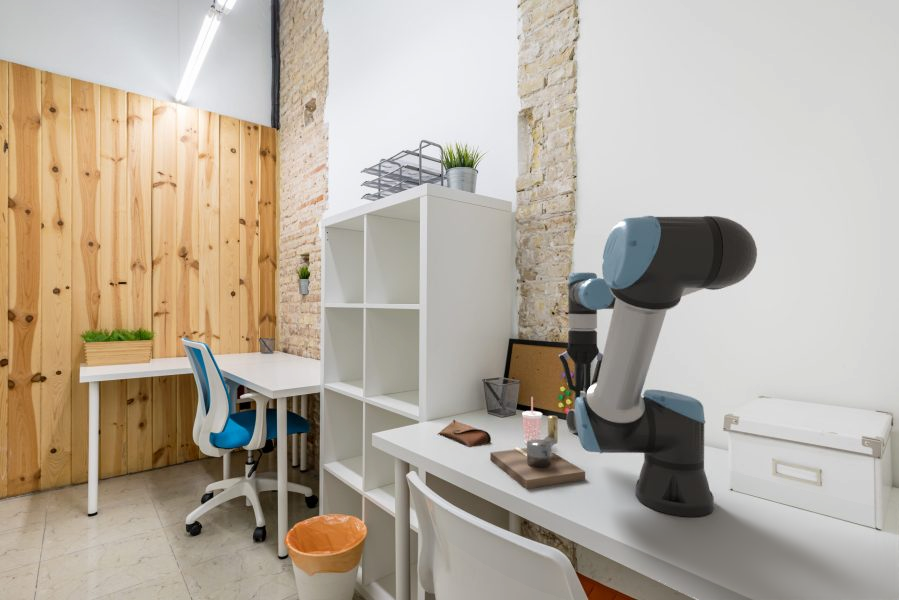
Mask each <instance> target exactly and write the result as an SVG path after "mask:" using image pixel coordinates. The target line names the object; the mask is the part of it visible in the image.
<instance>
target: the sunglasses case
mask: <svg viewBox="0 0 899 600" xmlns="http://www.w3.org/2000/svg"><path fill="white" fill-rule="evenodd" d="M438 434H440V435H439V436H441V435H443V436H442V437H444V436H446V437H445V438H447V437H448V438H447V439H451V440H452V439H453V440H452V441H455V442H458V443H460V444H461V445H464V446H466V447H468V448H474V447H477V446H481V445H485V444H491V441H492V437H491V435H490V434H489V432H488V431H485V430H483V429H481V428H479V429H478V428H476V427H474V426H471V425H468V424H465V423H462V422H459V421H457V420H455V419H453V420H452V422H450V423H449V424H448V425H447V426H445V427H444V428H442V430H441V431H439V432H438ZM438 434H437V435H438Z"/></svg>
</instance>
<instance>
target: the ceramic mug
mask: <svg viewBox="0 0 899 600" xmlns="http://www.w3.org/2000/svg"><path fill="white" fill-rule="evenodd" d="M566 426H567V429H568V431H569V432H570V433H572V434H578V431H577V426H576V419H575V408H571V409H569V410H568V411H567V413H566Z"/></svg>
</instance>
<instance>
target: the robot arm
mask: <svg viewBox="0 0 899 600" xmlns="http://www.w3.org/2000/svg"><path fill="white" fill-rule="evenodd" d="M757 257H758V247H757V245H756V242H755V239H754V238H753V236H752V234H751V233H750V232H749V230H747V228H745V227H744V226H743V225H742V224H740V223H738V222H737V221H735V220H733V219H730V218H727V217H723V216H714V215H712V216H710V215H704V216H653V215H643V216H639V217H637V216H636V217H628V218H627V217H626V218H623V219H622V220H620V221H618V222H617V223H616V224H615V225H614V226H613V228H612V229H611V230H610V233H609V234H608V236H607V239H606V242H605V245H604V249H603V254H602V259H603V261H602V265H601V266H602V267H601V270H602V277H603V278H600V277H598V275H597V274H596V273H595V272H572V273H570V274H569V276H568V283H567V289H568V296H567V297H568V299H567V300H568V308H567V309H568V316H567V317H568V321H567V322H568V324H567V325H568V328H569V330H568V336H567V337H568V338H567V339H568V340H567V343H568V344H567V347H566V350H565V351H564V352H563V353H561V354H560V353H559V354H558V359H559V360H560V361H561V363H562V367H563V373H564V375H565V380H566V385H567V388H568V389H569V391H573V392H574V409H575V419H576V426H577V431H578V433H577V436H578V439H579V444H580V446H581V447H582V449H584V450H585V451H587V452H591V453H599V454H605V453H608V454H610V453H613V454H614V453H615V454H617V453H618V454H619V453H620V454H643V455H644V456H643V458H644V459H643V462H642V463H643V464H642V466H641V469H640V473H639V477H638V479H637V481H636V483H635V497H636V498H637V500H638V501H639V502H640V503H642V505H644V506H646V507H648V508H650V509H653V510H655V511H658V512H660V513H662V514H663V513H664V514H666V515H667V514H668V515H673V516H678V517H688V518H689V517H690V518H694V517H695V518H696V517H703V516H708V515H710V514H711V513H713V511H714V508H715V501H714V500H715V499H714V494H713V493H712V491H711V490H710V485H709V481H708V477H707V475H706V471H705V424H706V420H705V419H706V418H705V411H704V405H703V404H702V402H701V401H700V400H698V399H696V398H694V397H692V396H689V395H686V394H682V393H677V392H673V391H669V390H668V391H667V390H661V389H645V391H644V392H643V394H642V391H643V388H644V385H645V382H646V379H647V376H648V372H649V369H650V366H651V363H652V360H653V356H654V353H655V350H656V347H657V343H658V340H659V337H660V333H661V330H662V327H663V324H664V321H665V318H666V314H667V311H668V310H671V309H674V308H675V307H677V306H678V305H679V304H680V301H682V300H681V299H682V297H685V296H687V295H690V294H694V293H696V292H699V291H702V290H704V289H705V290H709V291H710V290H711V291H715V290H716V291H717V290H722V289H724V288H728V287H731V286H733V285H736V284H738V283H740V282H742V281H744V280H745V278H747V277H748V276H749V275H750V273H751V272H752V271H753V269H754V267H755V265H756V262H757ZM598 310H612V314H611V318H610V324H609V328H608V332H607V336H606V340H605V345H604V349H603V353H601V352H600V349H599V348H598V332H597V330H596V329H598ZM569 358H570V359H571V360H572V362H573V363H574V364H573V365H574V383H573V378H572V376H571V375H572V374H571V370H570V367H569V363H568V360H569ZM595 358H596V361H597V362H596V364H595V368H594V373H593V375H592V381H591V367H592V362H593V361H594V360H595ZM582 364H583V386H584V387H583V390H581V389H582V388H581V387H582V386H581V385H582V384H581V381H582V380H581V379H582V378H581V377H582V376H581V375H582V373H581V372H582V371H581V370H582ZM642 396H643V397H642Z"/></svg>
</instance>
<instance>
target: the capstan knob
mask: <svg viewBox="0 0 899 600" xmlns="http://www.w3.org/2000/svg"><path fill="white" fill-rule="evenodd" d="M558 418H559V417H558V416H557V415H548V416H547V436H546V437H544V439H540V440H539V439H535V440H529V441H528V442H527V444H526V448H527V463H528V464H529V465H531V466H534V467H548V466H550V465H551V452H552V447H553V446H554V445H556V444H558V433H559V432H558V431H559V430H558V428H559V427H558V425H559V424H558Z"/></svg>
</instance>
